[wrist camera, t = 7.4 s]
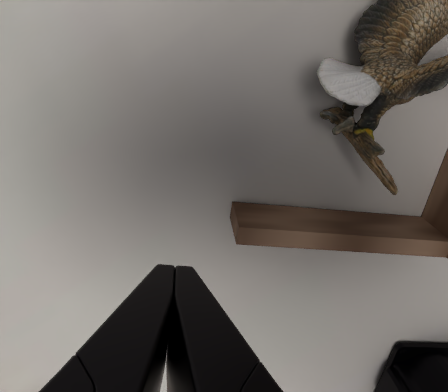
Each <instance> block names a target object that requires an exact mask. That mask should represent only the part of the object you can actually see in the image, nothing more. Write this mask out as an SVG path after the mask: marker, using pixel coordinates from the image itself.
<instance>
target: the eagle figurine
mask: <svg viewBox="0 0 448 392" xmlns="http://www.w3.org/2000/svg"><path fill="white" fill-rule="evenodd" d="M354 33H355V35H356V36H355V41H356V42H357V43H358V44H359V46H358V50H359V52H360V53H362V55H361V57H360V62H361V64H362V66H354V65H350V64H347V63H343V62H340V61H337V60H335V59H332V58H325V59H324V60H323V61H322V62H321V65H320V67H319V69H318V70H317V73H316V74H317V76H318V77H319V80H320V84H321V85H322V86H323V87H324V89H325V91H326V92H327V94H329V95H330V96H332V97H335V98H336V99H338V100H340V101H343V102H344V104H343V105H342V108H343V109H341V108H339V107H335V108H330V109H329V110H323V112H320V116H321V118H323V119H329V120H330V121H331V123H334V124H336V125H337V126H335V127H334V128H333V129H332V132H333V134H334V135H337V134H339V133H341V132H342V133H343V134H344V136H345V137H346V138H347V139H348V141H349V142H350V143H351V144H352V145H353V147H354V148H355V150H356V151H357V153H358V154H359V155H360V157H361V158H362V159H363V161H364V162H365V163H366V164H367V165H368V166H369V168H370V169H371V170H372V171H373V172H374V173H375V174H376V176H377V177H378V178H379V179H380V180H381V182H382V183H383V185H384V186H385V187H386V188H387V189H388V190H389V191H390V192H391V193H392V194H393V195H396V194H397V192H398V189H397V186H396V184H395V183H394V180H393V178H392V176H391V174H390V173H389V172H388V170H387V169H386V168H385V166H384V164H383V162H382V161H381V160H380V159H379V158H378V157H377V156H378V155H382V154H384V152H385V151H384V149H383V148H382V147H381V146H380V145H379V144H378V143H376V142H375V141H374V136H373V131H374V130H375V129H376V128H377V126H378V124H379V120H380V118H381V116H383V115H384V114H385V112H386V111H387V110H389V109H390V108H391V107H392V106H394V105H396V104H403V103H406V102H409V101H410V100H412V99H413V98H414V97H417V96H422V95H424V94H429V93H431V92H433V91H437V90H440V89H442V88H444V87H445V86H446V85H447V84H448V56H445V57H442V58H438V59H436V60H433V61H431V62H429V63H426V64H423V65H420V66H418V65H417V64H418V63H419V61H420V60H421V59H422V57H423V56H424V55H425V54H426V52H427V51H428V50H429V49H430V48H431V47H432V46H433V45H434V44H436V43H437V42H438V41H440V40H441V39H442V38H443V37H444V36H445V35H446V34H448V0H378V1H377V4H375V5H371V6H370V8H369V9H368V10H366V11H365V12H364V13H363V16H362V17H361V18H360V21H359V25H358V27H357V28H356V29H355V32H354ZM368 105H369V106H368ZM359 106H367V107H365V108H364V110H363V113H362V114H361V118H360V120H359V121H358V122H357V123H356V122H355V121H354V118H353V114H354V109H356V108H357V107H359Z"/></svg>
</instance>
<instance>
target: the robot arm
mask: <svg viewBox="0 0 448 392" xmlns="http://www.w3.org/2000/svg"><path fill="white" fill-rule="evenodd" d="M167 345H168V346H167ZM166 354H167V361H166ZM165 363H166V368H167V392H283V391H282V389H281V388H280V387H279V386H278V384H277V383H276V382H275V380H274V379H273V378H272V376H271V375H270V374H269V372H268V371H267V369H266V368H265V367H264V365H263V364H262V363H261V362H260V360H259V359H258V357H257V356H256V354H255V353H254V352H253V350H252V349H251V347H250V346H249V345H248V343H247V342H246V340H245V339H244V338H243V336H242V335H241V333H240V332H239V331H238V329H237V328H236V327H235V325H234V324H233V322H232V321H231V320H230V318H229V317H228V315H227V314H226V313H225V311H224V310H223V308H222V307H221V306H220V304H219V303H218V301H217V300H216V299H215V297H214V296H213V294H212V293H211V292H210V290H209V289H208V288H207V286H206V285H205V283H204V282H203V281H202V279H201V278H200V276H199V275H198V274H197V272H196V271H195V269H194V268H193V267H190V266H176V267H174V266H173V265H163V264H158V265H156V266H155V267H154V269H153V270H152V271H151V272H150V273H149V274H148V275H147V276H146V277H145V278H144V279H143V280H142V282H141V283H140V284H139V285H138V286H137V287H136V288H135V289H134V290H133V291H132V292H131V294H130V295H129V296H128V297H127V298H126V299H125V300H124V301H123V302H122V303H121V304H120V306H119V307H118V308H117V309H116V310H115V311H114V312H113V313H112V314H111V315H110V316H109V317H108V319H107V320H106V321H105V322H104V323H103V324H102V325H101V326H100V327H99V328H98V329H97V331H96V332H95V333H94V334H93V335H92V336H91V337H90V338H89V339H88V340H87V341H86V343H85V344H84V345H83V346H82V347H81V348H80V349H79V350H78V351H77V352H76V355H74V356H72V357H71V359H70V360H69V361H68V362H67V363H66V364H65V365H64V366H63V367H62V368H61V370H60V371H59V372H58V373H57V374H56V375H55V376H54V377H53V378H52V379H51V380H50V381H49V382H48V383H47V384H46V385H45V386H44V387H43V388H42V389H41V390H40V391H39V392H160V388H161V383H162V378H163V374H164V368H165ZM375 392H448V344H440V343H398V344H397V345H395V347H394V349H393V351H392V353H391V356H390V358H389V360H388V362H387V365H386V367H385V369H384V372H383V374H382V376H381V379H380V381H379V383H378V386H377V388H376V390H375Z"/></svg>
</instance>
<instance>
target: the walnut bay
mask: <svg viewBox="0 0 448 392" xmlns="http://www.w3.org/2000/svg"><path fill="white" fill-rule="evenodd" d="M230 219H231V224H232V228H233V232H234V236H235V241H236V244H241V245H257V246H272V247H288V248H304V249H320V250H336V251H352V252H368V253H384V254H400V255H416V256H432V257H447V258H448V150H447V152H446V155H445V157H444V160H443V163H442V165H441V168H440V170H439V173H438V175H437V178H436V180H435V183H434V185H433V188H432V191H431V193H430V196H429V198H428V201H427V203H426V206H425V208H424V211H423V213H422V216H421V217H417V216H404V215H391V214H379V213H366V212H354V211H341V210H328V209H316V208H303V207H291V206H278V205H265V204H253V203H240V202H232V207H231V214H230Z"/></svg>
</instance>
